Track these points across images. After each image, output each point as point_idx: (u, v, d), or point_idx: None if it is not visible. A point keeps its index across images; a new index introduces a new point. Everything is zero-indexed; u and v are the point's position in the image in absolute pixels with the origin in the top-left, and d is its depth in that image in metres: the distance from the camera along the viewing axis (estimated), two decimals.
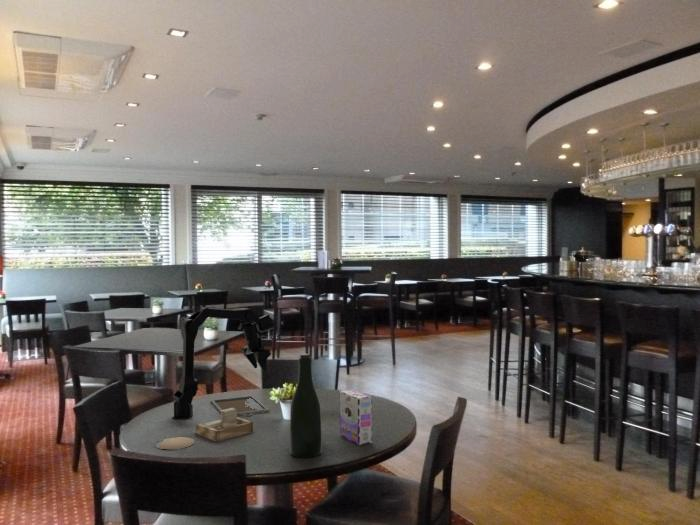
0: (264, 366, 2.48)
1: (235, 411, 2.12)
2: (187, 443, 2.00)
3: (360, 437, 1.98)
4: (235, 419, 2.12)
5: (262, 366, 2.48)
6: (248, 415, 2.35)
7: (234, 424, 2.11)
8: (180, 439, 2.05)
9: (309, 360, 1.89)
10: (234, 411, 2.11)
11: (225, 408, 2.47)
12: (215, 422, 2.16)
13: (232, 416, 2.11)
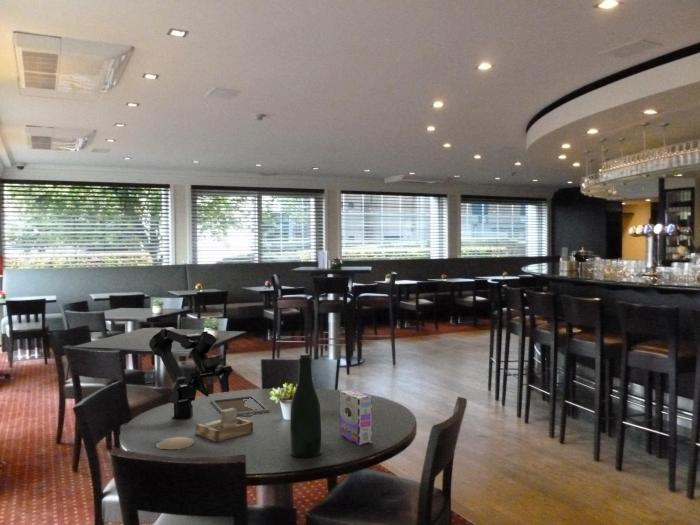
0: (203, 390, 2.15)
1: (235, 411, 2.12)
2: (187, 443, 2.00)
3: (360, 437, 1.98)
4: (235, 419, 2.12)
5: (201, 391, 2.15)
6: (248, 415, 2.35)
7: (234, 424, 2.11)
8: (180, 439, 2.05)
9: (309, 360, 1.89)
10: (234, 411, 2.11)
11: (225, 408, 2.47)
12: (215, 422, 2.16)
13: (232, 416, 2.11)
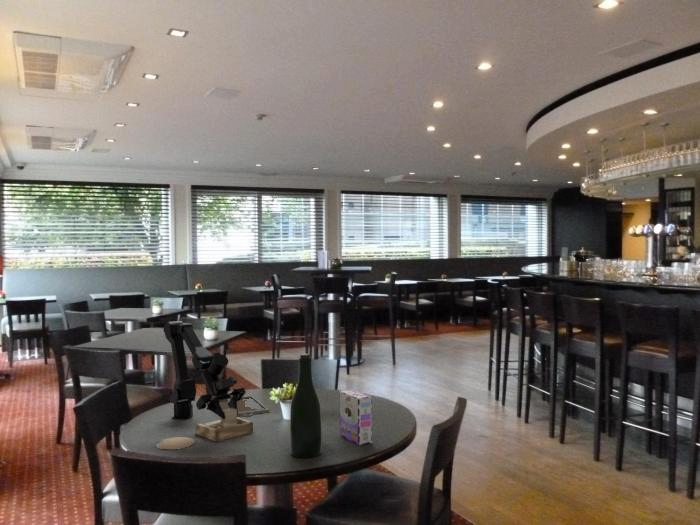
0: (219, 413, 2.09)
1: (235, 411, 2.12)
2: (187, 443, 2.00)
3: (360, 437, 1.98)
4: (235, 419, 2.12)
5: (218, 414, 2.09)
6: (248, 415, 2.35)
7: (234, 424, 2.11)
8: (180, 439, 2.05)
9: (309, 360, 1.89)
10: (234, 411, 2.11)
11: (225, 408, 2.46)
12: (215, 422, 2.16)
13: (232, 416, 2.11)
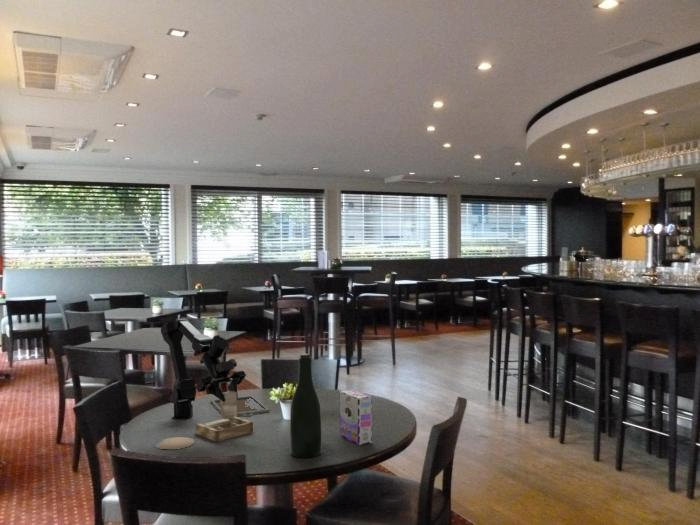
0: (219, 395, 2.09)
1: (235, 394, 2.12)
2: (187, 443, 2.00)
3: (360, 437, 1.98)
4: (235, 402, 2.12)
5: (218, 396, 2.09)
6: (248, 415, 2.35)
7: (234, 407, 2.11)
8: (180, 439, 2.05)
9: (309, 360, 1.89)
10: (234, 394, 2.11)
11: None
12: (215, 422, 2.16)
13: (232, 399, 2.11)
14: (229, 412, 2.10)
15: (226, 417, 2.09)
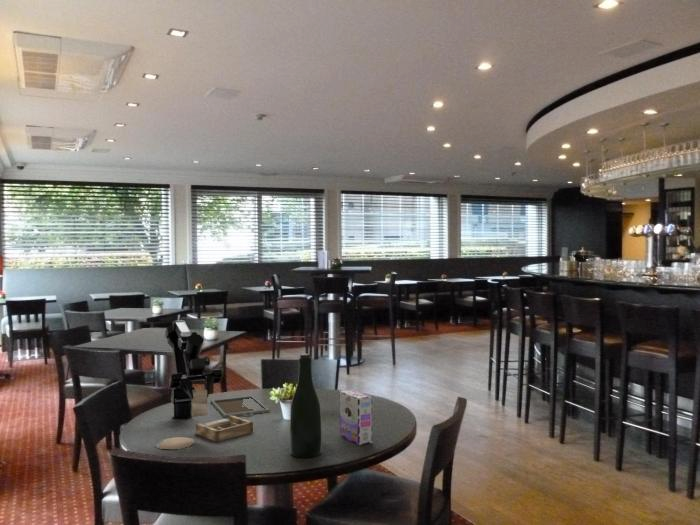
0: (189, 393, 2.07)
1: (205, 392, 2.08)
2: (187, 443, 2.00)
3: (360, 437, 1.98)
4: (206, 400, 2.08)
5: (188, 393, 2.08)
6: (248, 415, 2.35)
7: (204, 405, 2.08)
8: (180, 439, 2.05)
9: (309, 360, 1.89)
10: (204, 392, 2.08)
11: (225, 408, 2.46)
12: (215, 422, 2.16)
13: (202, 397, 2.07)
14: (198, 410, 2.07)
15: (195, 415, 2.06)
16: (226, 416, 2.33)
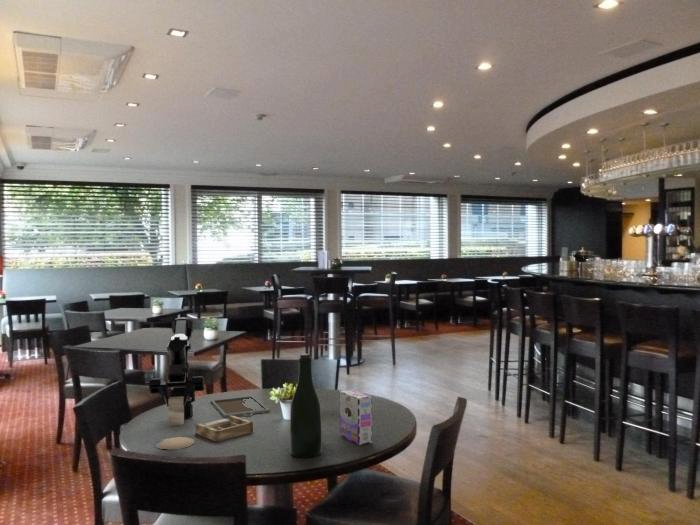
0: (165, 400, 2.00)
1: (181, 400, 2.00)
2: (187, 443, 2.00)
3: (360, 437, 1.98)
4: (182, 409, 2.00)
5: (165, 400, 2.01)
6: (248, 415, 2.35)
7: (180, 414, 2.00)
8: (180, 439, 2.05)
9: (309, 360, 1.89)
10: (180, 400, 2.00)
11: (225, 408, 2.46)
12: (215, 422, 2.16)
13: (177, 405, 2.00)
14: (174, 418, 1.99)
15: (170, 423, 1.99)
16: (226, 416, 2.33)
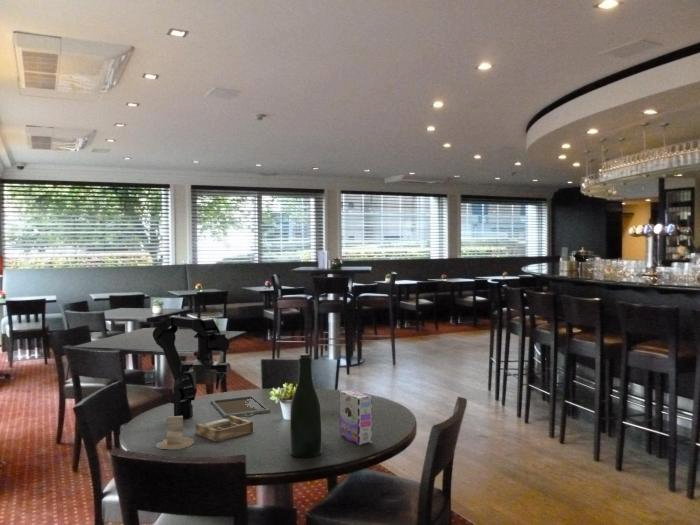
0: None
1: (180, 420, 2.00)
2: (187, 443, 2.00)
3: (360, 437, 1.98)
4: (180, 429, 2.00)
5: None
6: (249, 415, 2.34)
7: (179, 433, 2.00)
8: None
9: (309, 360, 1.89)
10: (179, 419, 2.00)
11: (225, 408, 2.46)
12: (215, 422, 2.16)
13: (176, 424, 1.99)
14: (172, 438, 1.99)
15: (168, 443, 1.99)
16: (226, 416, 2.33)
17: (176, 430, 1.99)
